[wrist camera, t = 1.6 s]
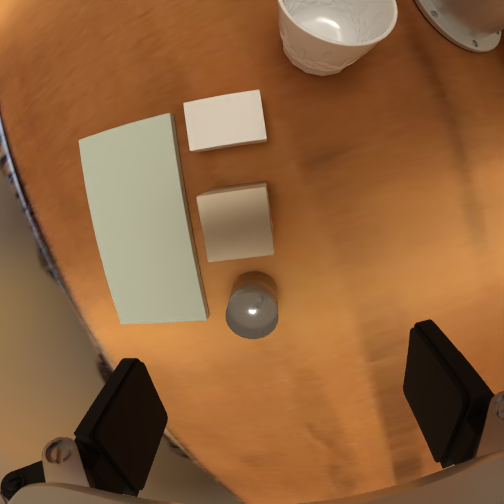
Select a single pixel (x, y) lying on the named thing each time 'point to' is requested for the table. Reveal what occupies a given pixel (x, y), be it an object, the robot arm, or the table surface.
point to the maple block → (236, 222)
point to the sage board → (143, 222)
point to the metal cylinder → (253, 306)
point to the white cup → (332, 31)
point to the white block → (225, 121)
